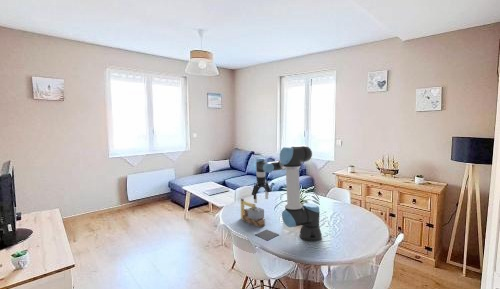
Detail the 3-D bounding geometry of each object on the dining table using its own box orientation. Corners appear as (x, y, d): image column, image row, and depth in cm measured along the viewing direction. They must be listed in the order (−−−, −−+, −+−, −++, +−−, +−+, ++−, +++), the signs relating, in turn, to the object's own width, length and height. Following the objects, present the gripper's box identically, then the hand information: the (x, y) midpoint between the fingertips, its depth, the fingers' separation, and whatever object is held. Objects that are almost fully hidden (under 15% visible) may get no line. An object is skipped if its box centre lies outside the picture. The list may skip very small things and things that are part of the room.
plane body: (264, 225, 205) (264, 214, 204) (260, 227, 202) (260, 216, 201) (247, 218, 220) (246, 207, 219) (242, 220, 216) (242, 209, 215)
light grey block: (264, 218, 207) (264, 209, 206) (256, 221, 202) (256, 212, 201) (255, 214, 214) (254, 206, 213) (247, 217, 209) (247, 208, 208)
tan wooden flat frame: (256, 222, 210) (256, 202, 208) (253, 223, 208) (253, 203, 206) (242, 217, 222) (242, 198, 220) (240, 218, 220) (240, 199, 218)
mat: (278, 234, 189) (278, 234, 189) (267, 240, 181) (267, 240, 181) (266, 229, 198) (266, 229, 198) (255, 235, 190) (255, 234, 190)
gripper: (267, 173, 233) (267, 196, 235) (246, 178, 216) (247, 203, 218) (274, 174, 227) (274, 198, 230) (253, 179, 210) (253, 205, 213)
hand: (261, 200), depth 224 cm, fingers open, 13 cm apart
